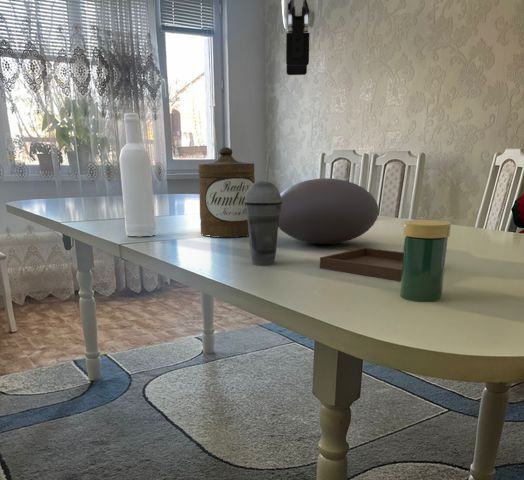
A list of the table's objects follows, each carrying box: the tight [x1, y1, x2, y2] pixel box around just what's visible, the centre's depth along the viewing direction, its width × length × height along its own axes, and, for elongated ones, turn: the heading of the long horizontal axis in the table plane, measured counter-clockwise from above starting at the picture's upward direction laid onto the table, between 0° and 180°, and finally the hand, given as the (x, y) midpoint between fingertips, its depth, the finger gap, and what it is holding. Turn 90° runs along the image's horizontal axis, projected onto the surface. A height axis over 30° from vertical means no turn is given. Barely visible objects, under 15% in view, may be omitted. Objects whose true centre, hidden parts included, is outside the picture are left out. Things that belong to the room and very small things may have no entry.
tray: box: [319, 246, 404, 282], centre depth 102 cm, size 17×15×2 cm
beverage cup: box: [244, 155, 282, 266], centre depth 104 cm, size 7×7×20 cm
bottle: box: [119, 112, 157, 236], centre depth 140 cm, size 8×8×30 cm
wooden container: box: [197, 146, 256, 238], centre depth 143 cm, size 15×15×22 cm
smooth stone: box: [278, 178, 379, 245], centre depth 128 cm, size 25×25×15 cm
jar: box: [399, 235, 449, 303], centre depth 80 cm, size 6×6×10 cm
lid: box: [402, 219, 452, 238], centre depth 78 cm, size 6×6×2 cm
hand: (297, 70), depth 81 cm, fingers open, 9 cm apart
